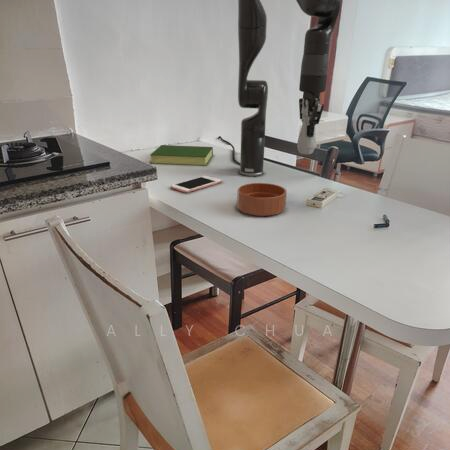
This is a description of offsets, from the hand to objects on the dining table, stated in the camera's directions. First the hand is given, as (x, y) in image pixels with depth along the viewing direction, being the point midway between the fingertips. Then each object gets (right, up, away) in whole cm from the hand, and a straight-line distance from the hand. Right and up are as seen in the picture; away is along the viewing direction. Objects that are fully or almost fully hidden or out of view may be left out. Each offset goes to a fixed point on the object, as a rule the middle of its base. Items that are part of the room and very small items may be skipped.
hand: (307, 136), depth 125 cm
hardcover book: (-44, +14, +60) cm, 76 cm away
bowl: (-13, -20, +7) cm, 25 cm away
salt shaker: (0, -4, +3) cm, 5 cm away
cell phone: (-36, -7, +27) cm, 45 cm away
